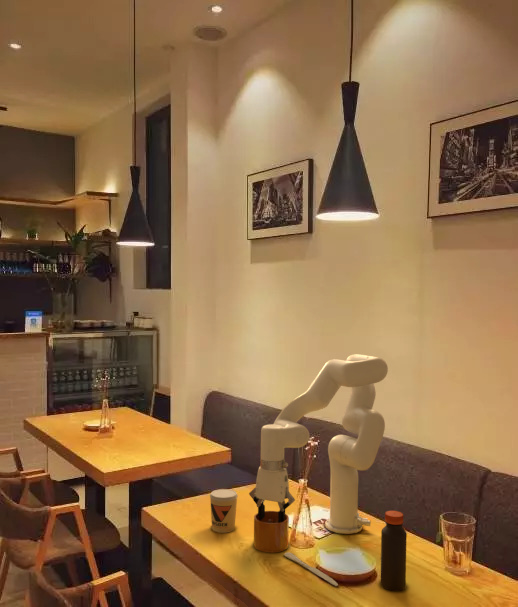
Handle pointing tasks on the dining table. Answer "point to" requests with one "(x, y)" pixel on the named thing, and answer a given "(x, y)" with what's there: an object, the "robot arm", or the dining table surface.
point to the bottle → (393, 552)
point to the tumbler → (271, 532)
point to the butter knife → (310, 568)
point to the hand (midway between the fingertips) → (271, 519)
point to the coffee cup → (223, 510)
